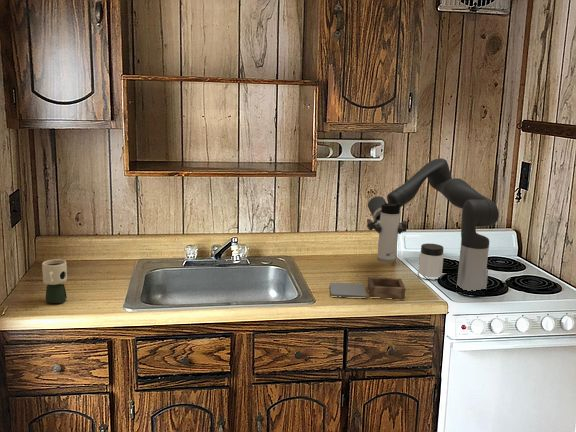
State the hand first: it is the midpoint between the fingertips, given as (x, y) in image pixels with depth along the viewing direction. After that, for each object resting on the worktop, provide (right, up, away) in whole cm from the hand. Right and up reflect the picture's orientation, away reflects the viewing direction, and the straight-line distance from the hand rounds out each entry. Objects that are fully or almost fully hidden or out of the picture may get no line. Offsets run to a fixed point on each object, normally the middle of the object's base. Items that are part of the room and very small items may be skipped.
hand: (389, 230), depth 200 cm
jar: (+20, -18, +27) cm, 38 cm away
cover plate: (-13, -21, +8) cm, 26 cm away
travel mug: (0, -10, +5) cm, 11 cm away
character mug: (-107, -22, -10) cm, 110 cm away
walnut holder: (0, -22, +7) cm, 23 cm away
